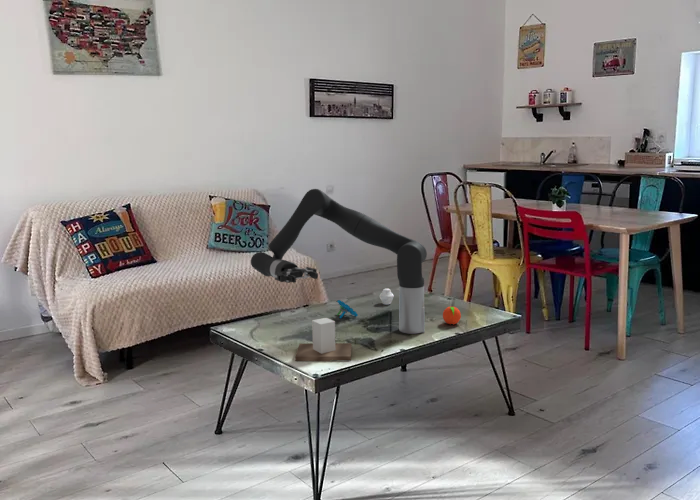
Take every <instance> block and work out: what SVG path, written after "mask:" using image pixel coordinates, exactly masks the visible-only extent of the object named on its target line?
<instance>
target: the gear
mask: <svg viewBox="0 0 700 500" xmlns="http://www.w3.org/2000/svg"><path fill="white" fill-rule="evenodd" d="M336 302H337V303H338V305H339V311H338V312H337V314H336V315H337V316H339V315H340V316H339V319H342V318H344V315H345V314H347V313H350V314H351V315H352V316H354V317H355V318H356V317H358V316H359V314H358V313H357V312H356V310H354V309H353V308H352V307H350V305H348V304H347V303H345V302H344V301H342V300H341V299H338V300H337V301H336ZM341 312H342V313H341Z"/></svg>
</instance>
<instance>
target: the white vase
mask: <svg viewBox="0 0 700 500" xmlns="http://www.w3.org/2000/svg"><path fill="white" fill-rule="evenodd" d="M394 297H395V295H394V294H393V292H392V291H391V289H390V288H383V289H382V292H381V293H380V294H379V298H380V301H381V303H382V304H383V305H385V306H386V305H390V304H392V302H393V299H394Z"/></svg>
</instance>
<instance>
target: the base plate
mask: <svg viewBox="0 0 700 500" xmlns="http://www.w3.org/2000/svg"><path fill="white" fill-rule="evenodd" d="M352 345H353V343H352V342H346V343H345V342H343V343H339V342H337V343H336V342H335V348H336V350H335V351H331V352H326V353H322V354H321V353H319V352H317V351H315V350H314V349H313V342H312V343H299V344H298V347H297V350H296V353H295V357H294V358H295V359H294V360H295V362H331V361H330V360H352Z"/></svg>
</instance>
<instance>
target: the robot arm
mask: <svg viewBox="0 0 700 500" xmlns="http://www.w3.org/2000/svg"><path fill="white" fill-rule="evenodd" d="M314 215H315V216H318V217H320V218H323V219H325V220H327V221H330V222H332V223H334V224H335V225H337V226H338V227H340V228H341V230H344V231H345V232H346V233H348V234H349V235H351V236H352V237H354V238H356V239H358V240H360V241H361V242H364V243H366V244H369V245H371V246H375V247H378V248H382V249H386V250H388V251H390V252H392V253H394V254H396V255H397V256H396V273H397V280H398V283H399V284H398V306H399V307H398V317H399V318H398V331H399V332H400V333H403V334H420V333H421V334H422V333H425V332H426V331H425V326H426V325H425V322H426V321H425V318H426V317H425V315H426V314H425V313H426V312H425V311H426V308H425V277H423V270H422V269H423V268H422V267H423V266H422V265H423V263H424V262H425V261H426V259H427V255H428V253H427V249H426V247H425V246H424V245H423V244H422V243H421V242H420V241H417V240H414V239H412V238H409V237H408V236H405V235H402V234H401V233H399V232H396V231H394V230H392V229H391V228H390V227H388V226H387V225H385V224H383V223H381V222H379V221H378V220H375V219H374V218H372V217H370V216H368V215H367V214H366V213H365V214H364V213H362V212H360V211H357V210H355V209H351V208H349V207H346V206H344V205H342V204H340V203H338V201H336V200H334V199H333V198H331V197H330V196H329V195H328V194H327V193H325V192H323V190H321V189H319V188H312V189H309V190H308V191H306V193H305V194H304V196H303V197H302V199H301V201H299V204H298V206H297V207H296V209H295V210H294V212H293V213H292V214H291V217H290V218H289V219H288V221H287V222H286V223H285V224H284V226H283V227H282V229H280V231H279V232H278V233H277V234H276V236H275V237H274V238H273V239H272V240H271V241H270V243H269V244H268V249H269V250H270V252H272V254H273V256H272V255H269V254H267V253H265V252H262V251H258V252H256V253H254V254H253V255H252V256H251V259H250V265H251V267H252V269H254V270H256V271H257V272H259V273H260V274H262V275H263V276H265V277H273V278H274V279H275V280H276V281H279V282H280V283H287V284H288V283H292V284H293V283H296V282H297V280H300V279H302V280H304V279H308V278H311V279H314V280H318V278H319V273H318V271H317V269H316V268H313V267H309V266H306V267H305V268H301V267H298V265H297V264H296V263H294V262H293V261H289V260H287V259H286V260H285V259H283V257H284V256H285V255H286V253H287V252H288V251H289V249H290V248H291V247H292V246H293V245H294V243H296V240H297V238H298V237H299V235H300V233H301V231H302V230H303V228H304V226H305V225H306V223H307V222H308V221H309V220H310V219H311V218H312V217H313V216H314Z"/></svg>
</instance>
